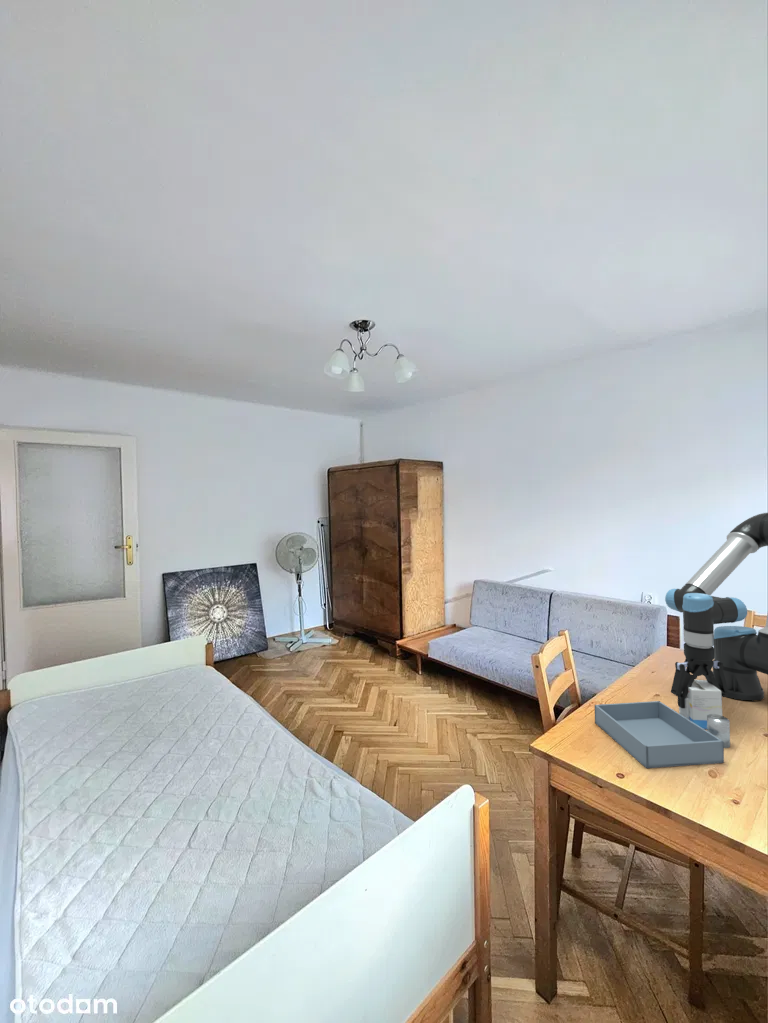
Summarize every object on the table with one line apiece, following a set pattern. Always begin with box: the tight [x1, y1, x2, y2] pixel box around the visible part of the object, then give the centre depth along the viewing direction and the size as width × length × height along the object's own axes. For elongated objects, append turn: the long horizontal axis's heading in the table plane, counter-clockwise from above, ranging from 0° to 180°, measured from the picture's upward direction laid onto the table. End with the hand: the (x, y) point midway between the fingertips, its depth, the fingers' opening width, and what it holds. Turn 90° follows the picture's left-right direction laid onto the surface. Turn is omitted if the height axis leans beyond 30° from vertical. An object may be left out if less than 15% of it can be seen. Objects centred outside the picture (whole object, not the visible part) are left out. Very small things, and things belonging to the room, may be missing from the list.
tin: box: [706, 714, 731, 749], centre depth 119 cm, size 5×5×7 cm
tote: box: [594, 700, 725, 769], centre depth 121 cm, size 21×23×6 cm
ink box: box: [678, 679, 723, 730], centre depth 130 cm, size 9×8×13 cm
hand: (700, 716), depth 130 cm, fingers closed on ink box, 9 cm apart
